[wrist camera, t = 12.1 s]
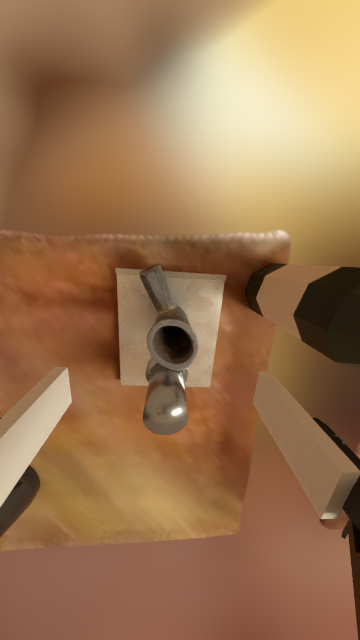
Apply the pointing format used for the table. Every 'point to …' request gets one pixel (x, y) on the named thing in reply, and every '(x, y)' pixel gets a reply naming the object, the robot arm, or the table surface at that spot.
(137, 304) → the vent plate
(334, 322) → the wine bottle
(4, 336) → the table surface
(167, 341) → the pipe
